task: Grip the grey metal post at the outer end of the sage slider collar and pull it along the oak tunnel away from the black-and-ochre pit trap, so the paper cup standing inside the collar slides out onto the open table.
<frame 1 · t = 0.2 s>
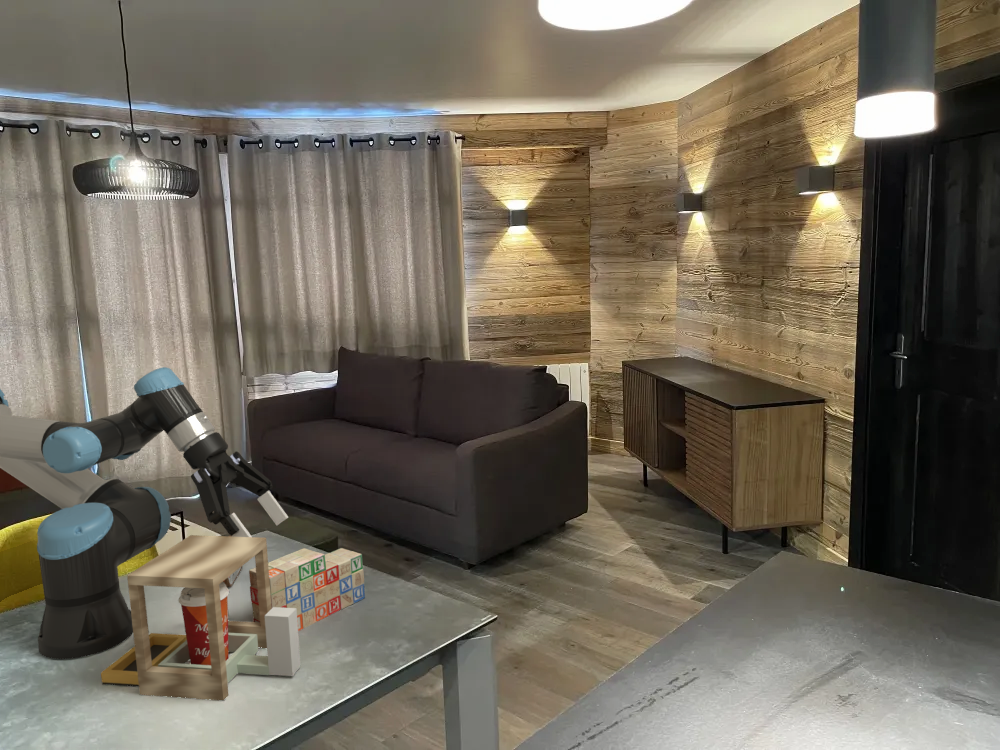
hand: (266, 533, 139), 16 cm above the table, tool tilted 35°, fingers open, 13 cm apart
tin: (232, 580, 158), on the table
stack of blocks: (312, 616, 141), on the table
paper cup: (211, 669, 122), resting in slider collar
slider collar: (235, 638, 121), point 5 cm above the table, slide at 0.0 cm
pit trap: (147, 664, 124), on the table
oak tunnel: (211, 668, 122), on the table
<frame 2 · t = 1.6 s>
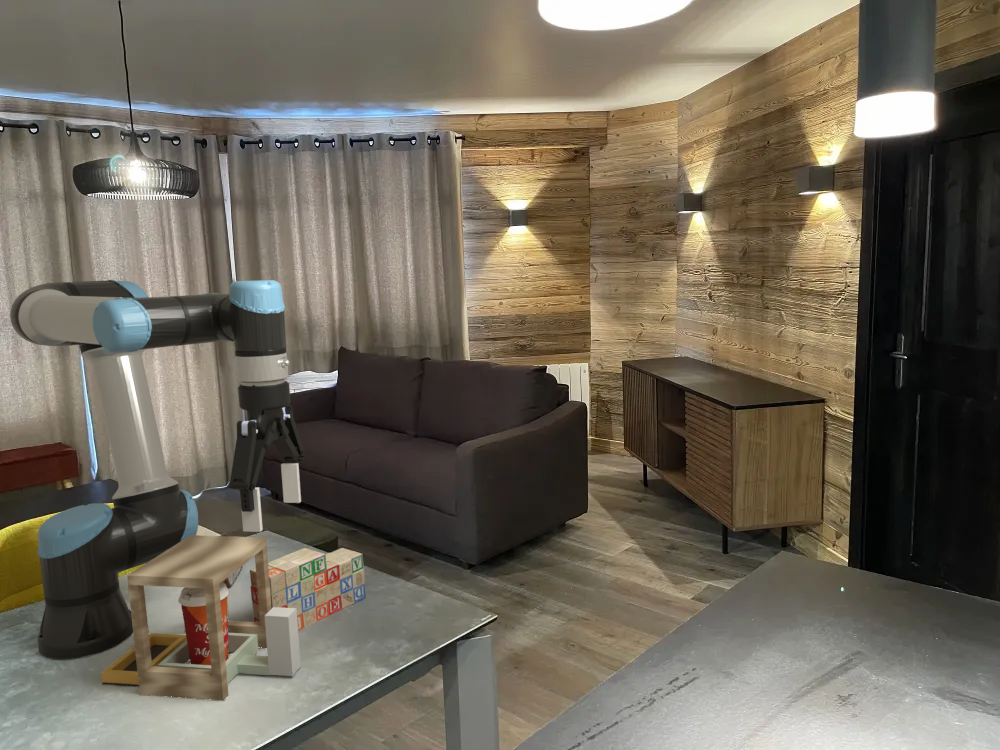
hand: (273, 515, 116), 26 cm above the table, tool pointing down, fingers open, 13 cm apart
nothing on the table moved.
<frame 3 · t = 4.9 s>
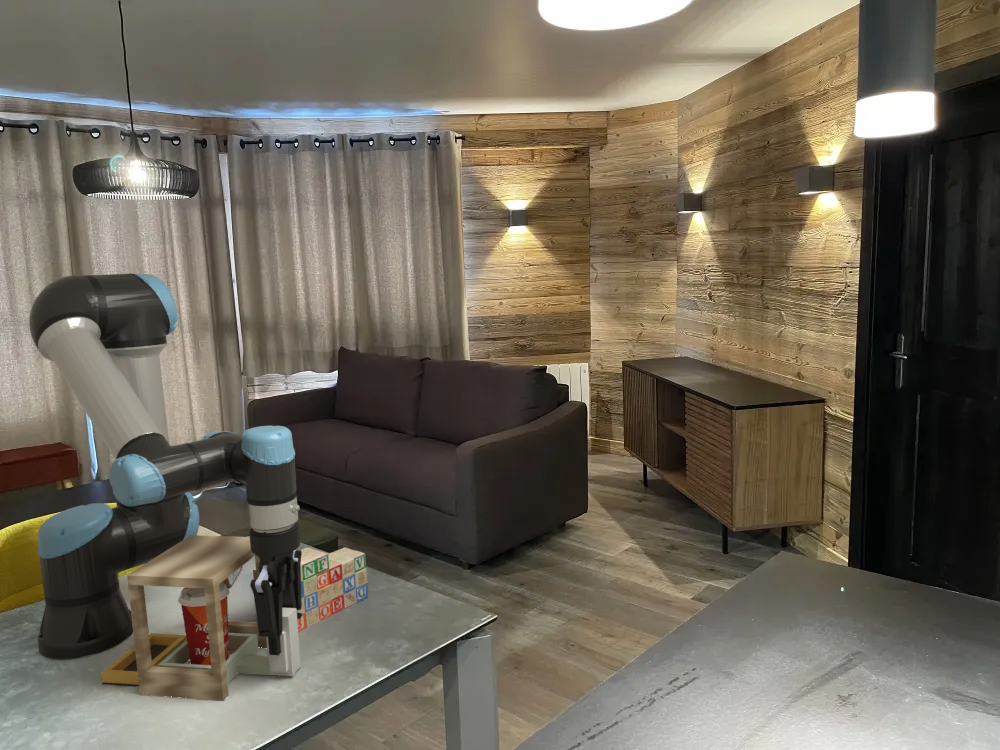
hand: (284, 664, 120), 2 cm above the table, tool pointing down, fingers closed on slider collar, 3 cm apart
slider collar: (235, 638, 121), point 5 cm above the table, slide at 0.0 cm, touching gripper
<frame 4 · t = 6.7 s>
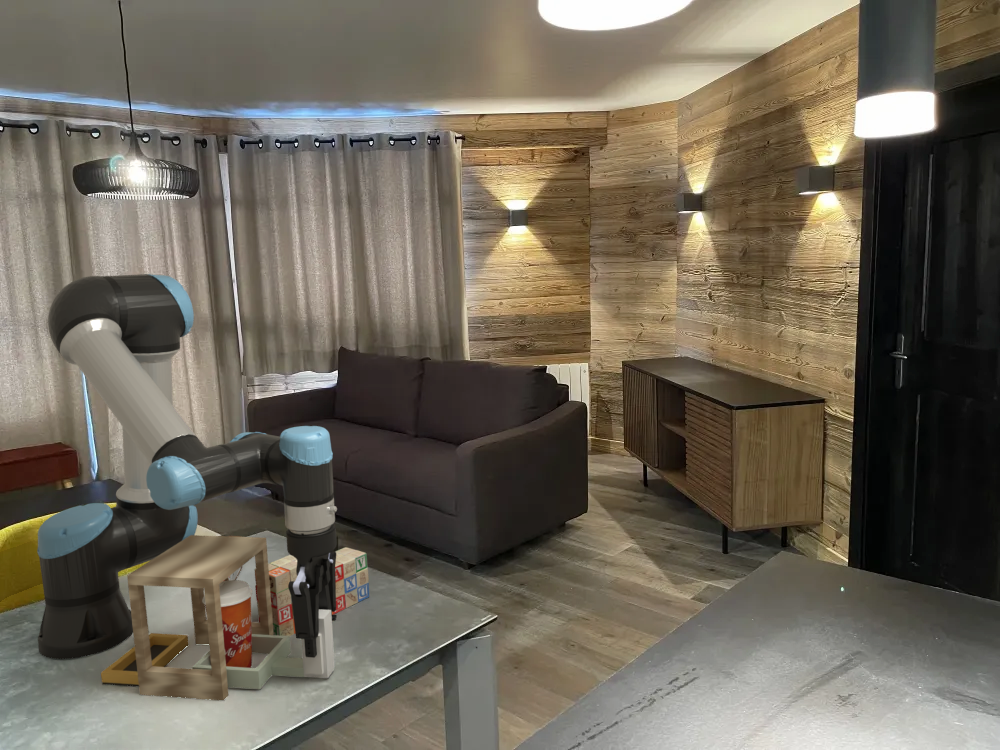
hand: (319, 666, 119), 2 cm above the table, tool pointing down, fingers closed on slider collar, 3 cm apart
paper cup: (234, 670, 122), resting in slider collar
slider collar: (269, 640, 120), point 5 cm above the table, slide at 5.9 cm, touching gripper
everything else where it was.
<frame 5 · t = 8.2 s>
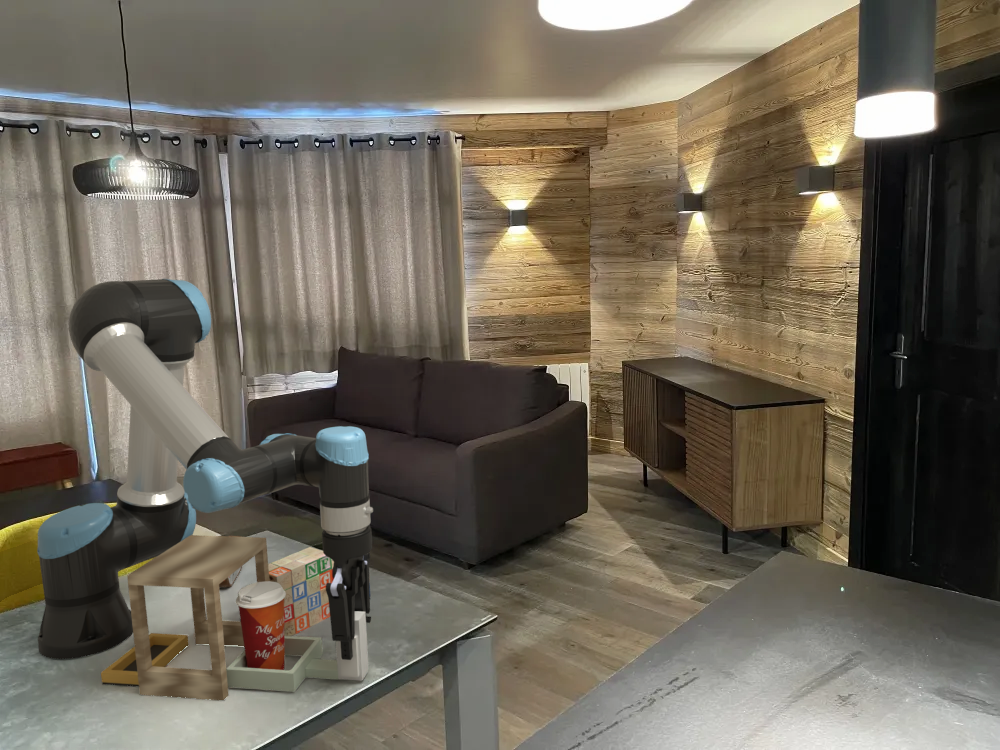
hand: (354, 668, 118), 2 cm above the table, tool pointing down, fingers closed on slider collar, 3 cm apart
paper cup: (267, 671, 121), resting in slider collar
slider collar: (302, 642, 119), point 5 cm above the table, slide at 11.6 cm, touching gripper, paper cup
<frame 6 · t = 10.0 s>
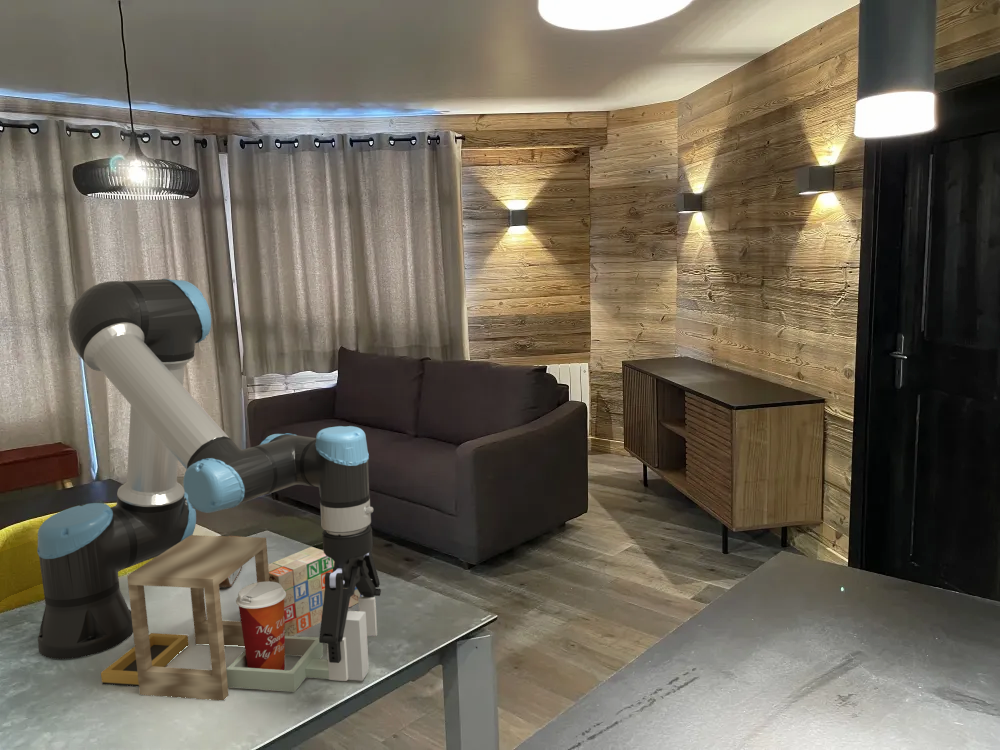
hand: (354, 655, 118), 4 cm above the table, tool pointing down, fingers open, 13 cm apart
paper cup: (267, 672, 121), resting in slider collar
slider collar: (302, 642, 119), point 5 cm above the table, slide at 11.7 cm
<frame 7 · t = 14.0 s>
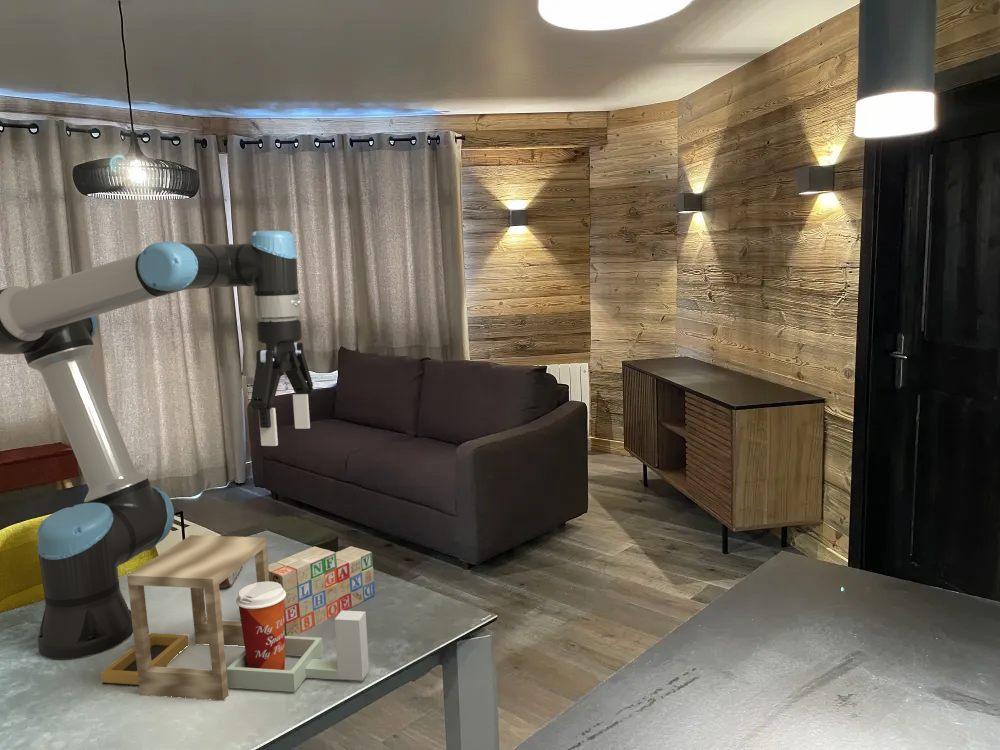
hand: (286, 436, 135), 35 cm above the table, tool pointing down, fingers open, 13 cm apart
at the end: slider collar slide at 11.7 cm; paper cup inside the target area (3.0 cm from its centre), resting in slider collar; paper cup tilted 0° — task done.
